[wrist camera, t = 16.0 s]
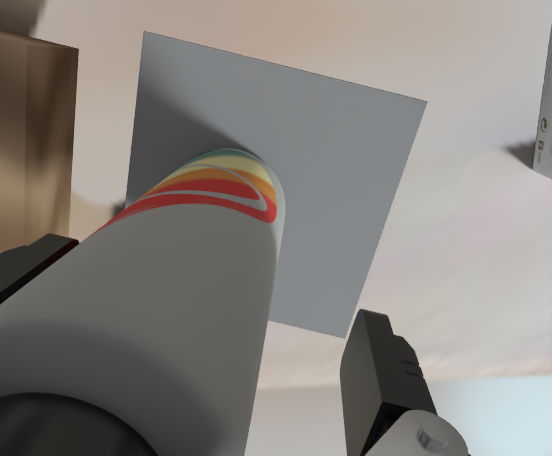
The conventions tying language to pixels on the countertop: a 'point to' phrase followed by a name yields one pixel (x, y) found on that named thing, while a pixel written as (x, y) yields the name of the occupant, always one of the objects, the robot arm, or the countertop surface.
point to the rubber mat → (283, 160)
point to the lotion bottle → (149, 323)
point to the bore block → (35, 137)
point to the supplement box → (545, 123)
